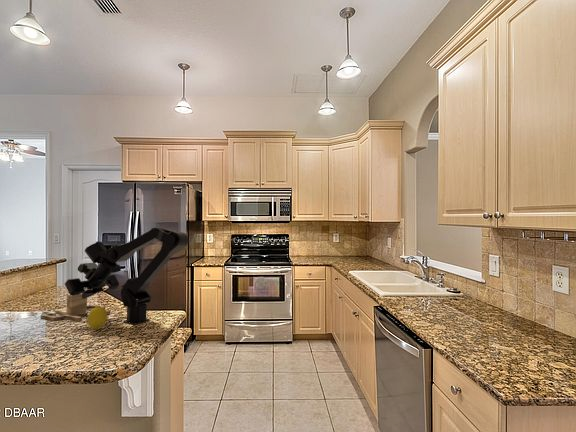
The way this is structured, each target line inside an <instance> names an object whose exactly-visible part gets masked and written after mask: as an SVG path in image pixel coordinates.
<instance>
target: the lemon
mask: <svg viewBox="0 0 576 432" xmlns="http://www.w3.org/2000/svg"><path fill="white" fill-rule="evenodd" d="M96 306H97V307H95V308H93V309H92V310H91V311H90V310H89V312H88V315H87V324H88V326H89V327H90V328H92V329H94V330H95V331H98V330H99V329H100V328H102V327H103V326H104V325H105V324H106V322H107V319H108V314H107V312H106V310H107V309H106V308H105V309H104V308H103V307H104V306H103V307H100V306H101V305H96Z"/></svg>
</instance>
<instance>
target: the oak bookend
mask: <svg viewBox="0 0 576 432" xmlns="http://www.w3.org/2000/svg"><path fill="white" fill-rule="evenodd" d="M87 303H88V297H87V298H85V299H83V298H82V293H81V294H79V295H73V296H72V295H70V294H67V296H66V307H64V308H59V309H54V310H53V312H56V315H60V316H63V315H72V316H80V315H85V314H87V310H86V309H87V306H88V305H87Z"/></svg>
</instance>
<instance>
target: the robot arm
mask: <svg viewBox="0 0 576 432" xmlns="http://www.w3.org/2000/svg"><path fill="white" fill-rule="evenodd" d="M156 241H159V242H161V248H160V250H159V251H158V253H157V254H155V255H154V257H153V258H152V260H151V261H150V262H149V263H148V264H147V265H146V266H145V268H144V269H143V270H142V271H141V272H140V274H138V276H137V277H132V278H128V279H127V280H126V282H125V283H124V284H123V285H122V286H121V289H120V297H121V300H122V304H123V307H124V308H125V307H126V319H124V320H123V322H122V323H127V324H131V325H132V324H133V325H137V323H138V324H140V323H145V322H147V321H150V318H147V310H148V309H147V306H148V304H149V303H151V300H152V296H151V295H150V293H149V292H148V290H149V286H150V283H152V280H154V278H155V277H156V276H157V275H158V273H159V272H160V271H161V270H162V269H163V267H164V266H165V265H166V264H167V263H168V261H169V260H170V259H171V258H172V257H173V256H174V255H177V253H179V252H180V251H182V250H183V249H184V248H186V247H187V246H188V245H189V242H190V241H189V236H188V234H187V233H185V232H178V231H173V230H168V229H166V228H164V227H157V226H155V227H152V228H150V230H148V231H146V232H145V233H142V234H140V235H139V236H137V237H135V238H133V239H132V240H129V241H128V242H126V243H122V244H118V245H114V246H112V247H111V246H110V247H109V248H108V249H107V248H106V246H105V245H104V243H103V242H102V240H101V241H100V240H99V241H95V242H94V243H92V244H89V245H88V246H86V247H85V249H84V253H85V254H86V256H87V257H88V258H89V259H90V260H91V262H84V263H80V264H79V265H78V267H77V272H79V273H80V274H81V273H82V274H84V275H85V276H84V278H85V280H81V279H80V278H79V277H78V278H69V279H67V280H66V281H65V282H64V285H65V287H66V291H68V293H69V294H68V295H72V296H73V295H79V294H81V293H82V298H83V299H85V298H87V299H88V298H90V297H92V296H94V295H97V294H99V293H102V292H104V288H105V287H108V286H109V289H110V290H116V289H118V287H119V286H120V281H119V280H118V278H117V277H116V275H115V273H119V272H121V271H122V268H121V267H120V264H118V263H121V262H126V261H129V259H131V257H133V256H134V255H135V253H137V252H138V251H140V250H141V249H143V248H145V247H147V246H149V245H150V244H153V243H154V242H156Z"/></svg>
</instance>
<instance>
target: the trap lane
mask: <svg viewBox="0 0 576 432" xmlns="http://www.w3.org/2000/svg"><path fill="white" fill-rule="evenodd" d="M97 306H98V305H94V304H91V305H87V309H86V311H89V312H90V311H91V310H92V309H93V308H95V307H97ZM99 306H100V307H103V308H104V309H105V310H106V312H107V315H110V314H111V310H107V309H106V306H101V305H99ZM41 318H43V319H42V320H45V321H46V320H47V321H51V322H52V321H53V322H56V321H61V320H62V321H63V320H70V321H74V322H81V321H83V317H82V316H79V315H75V316H72V315H59V316H57V314H56V312H54V311H50V310H42V312H41V315H40V319H41Z"/></svg>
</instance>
